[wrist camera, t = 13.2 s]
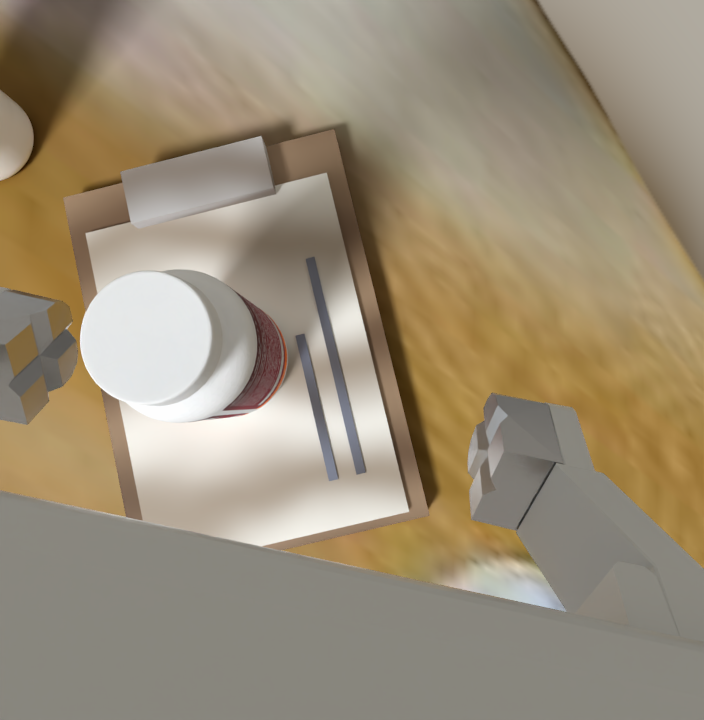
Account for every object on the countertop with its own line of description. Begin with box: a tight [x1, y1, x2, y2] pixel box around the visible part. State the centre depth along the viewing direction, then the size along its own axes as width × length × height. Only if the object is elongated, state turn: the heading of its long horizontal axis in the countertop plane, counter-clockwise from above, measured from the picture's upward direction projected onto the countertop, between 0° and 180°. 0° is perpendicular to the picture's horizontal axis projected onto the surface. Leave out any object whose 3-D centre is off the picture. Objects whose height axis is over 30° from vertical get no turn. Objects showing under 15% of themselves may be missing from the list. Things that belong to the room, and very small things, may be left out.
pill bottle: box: [80, 269, 288, 423], centre depth 24 cm, size 6×6×11 cm
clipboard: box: [63, 129, 430, 550], centre depth 30 cm, size 22×16×2 cm
